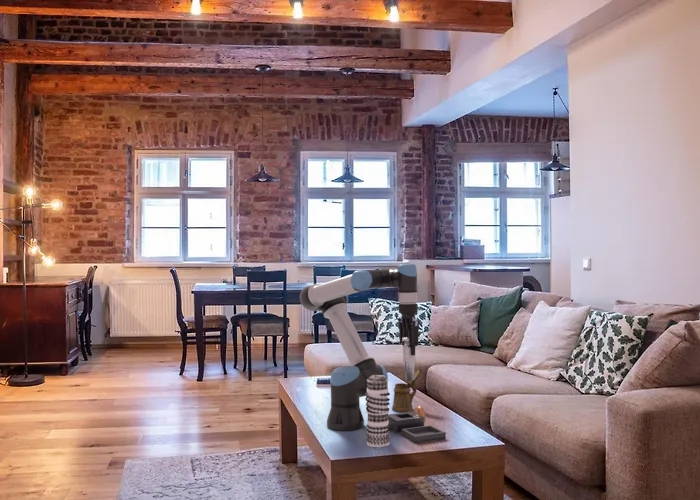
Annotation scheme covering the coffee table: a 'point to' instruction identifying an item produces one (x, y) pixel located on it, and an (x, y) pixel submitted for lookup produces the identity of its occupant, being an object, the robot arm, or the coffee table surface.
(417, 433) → the tray
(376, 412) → the decorative candle
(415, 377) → the wooden mug
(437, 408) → the coffee table surface
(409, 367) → the lock pin
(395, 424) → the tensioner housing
